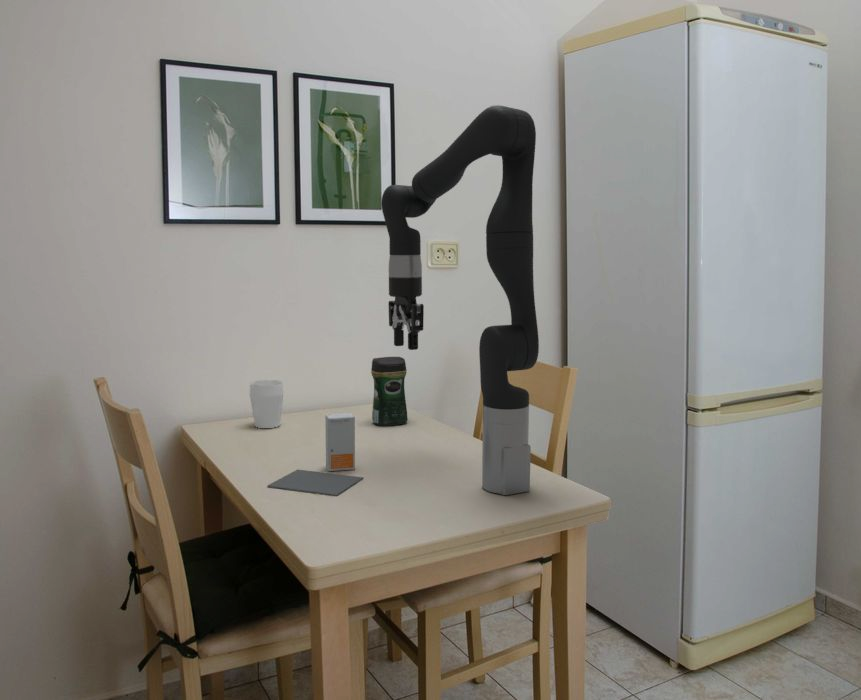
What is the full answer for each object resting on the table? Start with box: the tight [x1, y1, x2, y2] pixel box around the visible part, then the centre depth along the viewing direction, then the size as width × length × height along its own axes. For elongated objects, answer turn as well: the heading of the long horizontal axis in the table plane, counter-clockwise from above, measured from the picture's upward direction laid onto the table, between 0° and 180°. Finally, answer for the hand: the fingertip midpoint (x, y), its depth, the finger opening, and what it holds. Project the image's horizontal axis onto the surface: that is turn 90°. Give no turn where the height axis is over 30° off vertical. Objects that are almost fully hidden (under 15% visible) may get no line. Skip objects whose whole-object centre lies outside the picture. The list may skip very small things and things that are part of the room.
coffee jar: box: [370, 356, 409, 427], centre depth 208 cm, size 10×8×19 cm
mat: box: [266, 469, 364, 497], centre depth 157 cm, size 12×16×1 cm
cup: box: [249, 379, 285, 429], centre depth 205 cm, size 9×9×12 cm
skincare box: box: [324, 412, 356, 472], centre depth 166 cm, size 6×4×12 cm
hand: (405, 347), depth 173 cm, fingers open, 7 cm apart
